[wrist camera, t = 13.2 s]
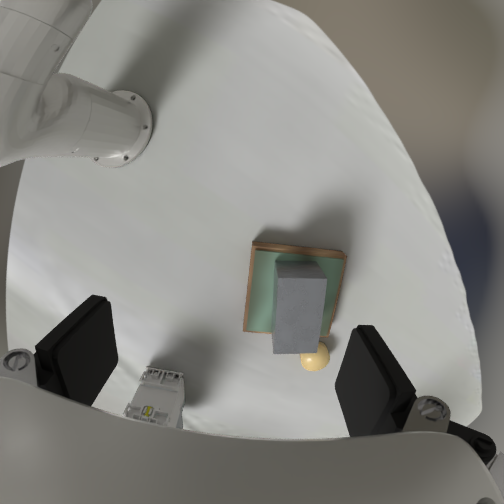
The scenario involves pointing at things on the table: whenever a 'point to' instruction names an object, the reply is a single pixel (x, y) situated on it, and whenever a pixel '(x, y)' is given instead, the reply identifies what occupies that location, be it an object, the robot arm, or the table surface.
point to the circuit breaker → (158, 398)
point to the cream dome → (315, 358)
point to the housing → (297, 306)
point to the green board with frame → (263, 280)
